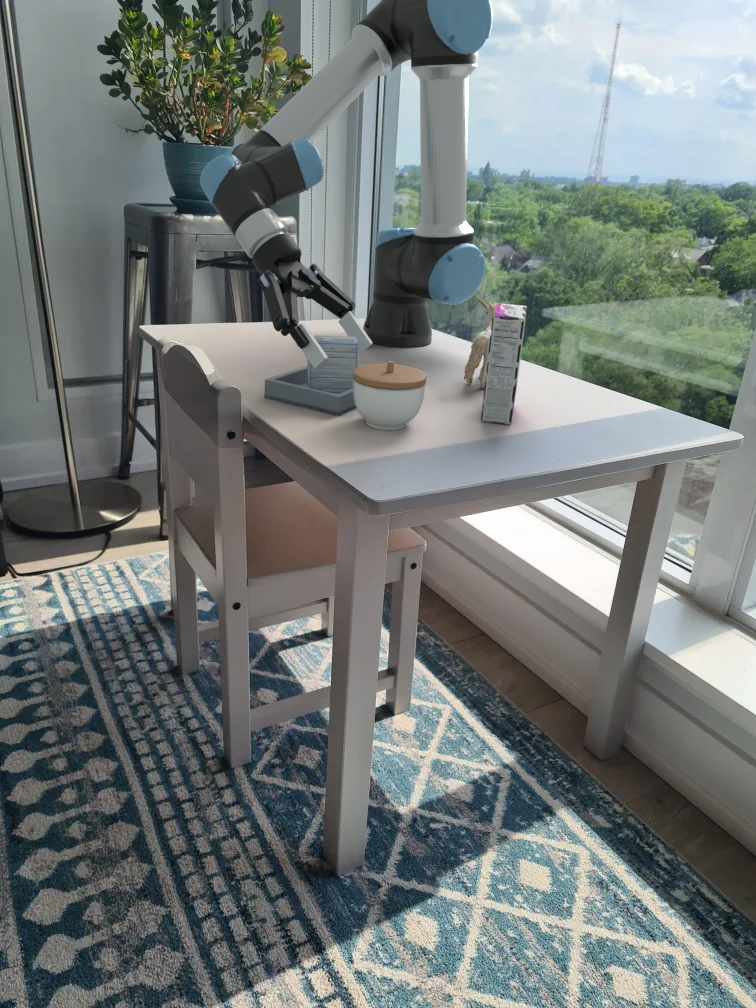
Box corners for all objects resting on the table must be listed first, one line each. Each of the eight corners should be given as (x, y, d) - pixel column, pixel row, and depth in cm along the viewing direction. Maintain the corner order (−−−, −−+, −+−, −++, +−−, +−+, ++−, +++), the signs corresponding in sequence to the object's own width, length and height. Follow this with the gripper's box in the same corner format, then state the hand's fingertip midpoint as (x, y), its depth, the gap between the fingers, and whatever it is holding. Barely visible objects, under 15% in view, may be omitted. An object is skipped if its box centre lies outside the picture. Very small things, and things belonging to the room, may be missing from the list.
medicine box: (353, 387, 128) (356, 336, 125) (356, 395, 124) (359, 342, 121) (306, 386, 127) (307, 334, 124) (308, 394, 123) (309, 340, 120)
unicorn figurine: (504, 369, 149) (514, 300, 144) (503, 397, 131) (514, 318, 126) (467, 366, 150) (475, 296, 144) (461, 392, 132) (470, 314, 127)
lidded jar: (399, 440, 108) (404, 375, 104) (336, 424, 112) (339, 361, 109) (434, 422, 116) (440, 361, 112) (374, 408, 121) (378, 349, 117)
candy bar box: (483, 402, 128) (496, 302, 121) (514, 405, 127) (528, 305, 120) (478, 422, 118) (491, 314, 111) (511, 426, 117) (526, 317, 110)
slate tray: (327, 375, 136) (327, 359, 135) (395, 391, 130) (397, 373, 129) (264, 397, 122) (264, 379, 121) (338, 416, 116) (339, 396, 115)
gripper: (300, 256, 135) (369, 355, 135) (204, 268, 115) (284, 384, 115) (327, 227, 130) (397, 329, 130) (231, 234, 110) (315, 355, 110)
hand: (345, 355), depth 122 cm, fingers open, 13 cm apart
